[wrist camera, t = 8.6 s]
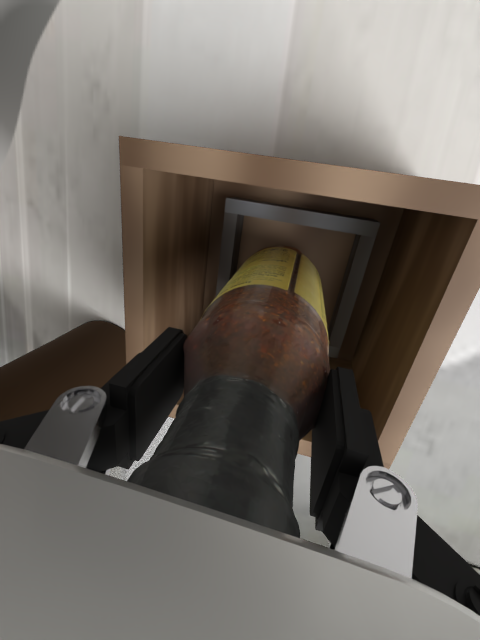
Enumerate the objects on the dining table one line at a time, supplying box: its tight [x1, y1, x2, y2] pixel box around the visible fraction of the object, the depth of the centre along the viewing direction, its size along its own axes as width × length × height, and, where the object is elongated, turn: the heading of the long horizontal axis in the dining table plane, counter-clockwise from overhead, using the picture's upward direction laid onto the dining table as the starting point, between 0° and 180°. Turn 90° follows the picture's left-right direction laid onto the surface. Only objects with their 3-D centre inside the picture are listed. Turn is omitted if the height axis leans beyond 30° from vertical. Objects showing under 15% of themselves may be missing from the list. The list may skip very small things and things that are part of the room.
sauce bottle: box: [127, 246, 330, 538], centre depth 15 cm, size 7×6×20 cm
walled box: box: [119, 136, 480, 469], centre depth 21 cm, size 17×16×12 cm
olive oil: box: [0, 321, 126, 421], centre depth 24 cm, size 11×11×25 cm
